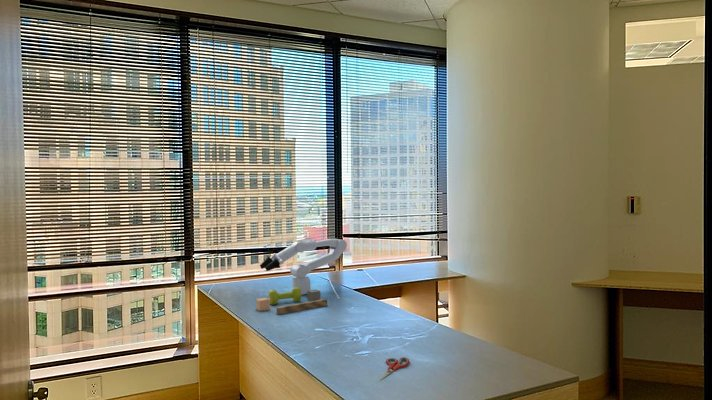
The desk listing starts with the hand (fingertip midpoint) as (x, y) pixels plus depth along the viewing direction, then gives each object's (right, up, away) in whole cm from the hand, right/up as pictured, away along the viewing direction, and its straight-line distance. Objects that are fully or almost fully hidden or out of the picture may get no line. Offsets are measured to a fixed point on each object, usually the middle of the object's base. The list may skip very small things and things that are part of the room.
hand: (263, 268), depth 262 cm
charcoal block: (+28, -16, -7) cm, 33 cm away
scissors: (+61, -17, -109) cm, 126 cm away
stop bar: (+24, -16, -26) cm, 39 cm away
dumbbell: (+13, -17, -9) cm, 23 cm away
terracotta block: (+4, -17, -22) cm, 28 cm away
